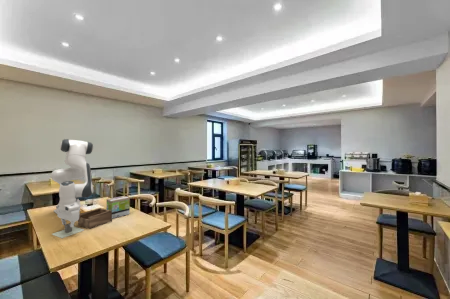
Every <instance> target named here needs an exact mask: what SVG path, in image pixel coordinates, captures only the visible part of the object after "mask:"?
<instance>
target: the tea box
mask: <svg viewBox="0 0 450 299" xmlns="http://www.w3.org/2000/svg"><path fill="white" fill-rule="evenodd" d="M130 202H131V200H130V197H128V196H126V195H122V196H117V197H111V198H107V199H106V208H105V209H106V210H111V211H112V220H113V219H115V218H116V219H117V218H119V217H123V216H127V215H130V212H131V210H130V207H131V205H130Z"/></svg>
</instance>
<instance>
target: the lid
mask: <svg viewBox="0 0 450 299" xmlns="http://www.w3.org/2000/svg"><path fill="white" fill-rule="evenodd" d="M70 224H71V222H70V223H66V224H65V225H63V226H64V229H62V230H60V231H57V232H54V233H51V235H52V236H54V237H57V238H60V239H65V238H67V237H70V236H72V235H76V234H78V233H81V232H84V231H85V229H83V228H80V227H78V226H74V227H70Z"/></svg>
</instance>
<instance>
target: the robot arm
mask: <svg viewBox="0 0 450 299" xmlns="http://www.w3.org/2000/svg"><path fill="white" fill-rule="evenodd" d="M59 150H61V152H64V153H66V155H65V159H64V164H65V165H66V166H68V167H67V168H59V169H54V170H53V171H52V172H51V174H50V178H51V179H52V181H54V182H55V183H57V184H58V185H59V188H58V189H59V190H58V191H59V192H58V196H59V202H58V204H57V205H56V206H55V208H56V209H54V210H53V213H55V214H57V217H58V218H59V219H60V220H61V223H62V224H61V225H63V226H64V225H66V224H67V222H70V227H75V223H76V222H78V220H79V214H80V211H81V210H80V207H82V206H81V199H80V200H79V198H90V197H91V196H92V195H93V194H94V184H93V180H92V179H93V178H92V170H91V167H90V163H88V162H87V160H86V158H87V156H86V155H90V154H92V153H93V151H94V144H93V143H92V142H89V141H85V140H78V139H77V140H76V139H69V138H66V139H65V138H64V139H62V141H61V142H60V143H59ZM83 178H84V182H83V183H75V182H74V180H75V181H76V180H81V179H83Z"/></svg>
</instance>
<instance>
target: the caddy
mask: <svg viewBox="0 0 450 299" xmlns="http://www.w3.org/2000/svg"><path fill="white" fill-rule="evenodd" d="M112 221H113V219H112V211H111V210H106V208H100V207H99V208H95V209H92V210H87V211H85V212H80V213H79V220H78V221H77V226H79V227H83V228H86V229H89V230H91V229H94V228H97V227H100V226H103V225H105V224H108V223H110V222H112Z"/></svg>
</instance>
